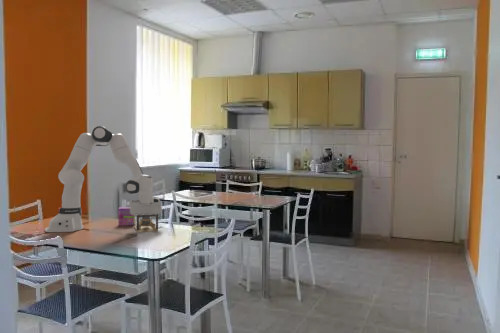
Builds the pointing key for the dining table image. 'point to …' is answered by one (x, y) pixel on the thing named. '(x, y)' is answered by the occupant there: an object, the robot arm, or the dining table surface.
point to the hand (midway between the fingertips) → (145, 220)
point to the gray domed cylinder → (146, 220)
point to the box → (125, 216)
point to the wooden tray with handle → (146, 228)
